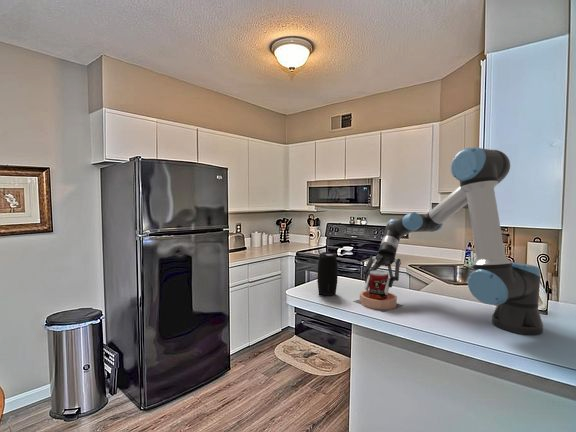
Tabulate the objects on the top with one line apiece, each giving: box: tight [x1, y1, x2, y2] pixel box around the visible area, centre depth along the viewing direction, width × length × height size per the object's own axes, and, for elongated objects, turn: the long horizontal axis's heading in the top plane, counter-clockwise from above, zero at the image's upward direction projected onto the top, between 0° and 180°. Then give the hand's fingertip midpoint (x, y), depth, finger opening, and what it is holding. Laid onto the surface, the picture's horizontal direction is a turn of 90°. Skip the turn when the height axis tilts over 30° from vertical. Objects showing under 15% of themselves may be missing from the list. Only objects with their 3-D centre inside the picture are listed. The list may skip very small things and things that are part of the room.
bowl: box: [359, 289, 398, 310], centre depth 140 cm, size 15×15×4 cm
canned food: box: [368, 269, 389, 300], centre depth 140 cm, size 8×8×11 cm
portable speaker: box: [316, 251, 339, 298], centre depth 151 cm, size 9×9×20 cm
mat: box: [352, 299, 404, 313], centre depth 140 cm, size 16×14×1 cm
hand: (375, 291), depth 137 cm, fingers closed on canned food, 8 cm apart
